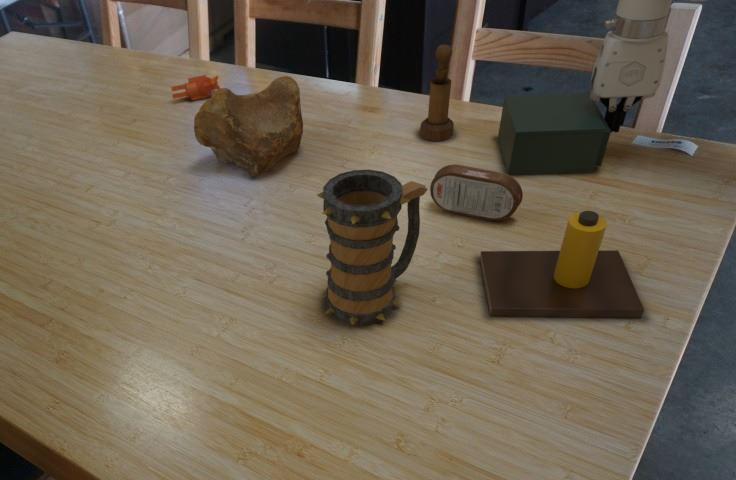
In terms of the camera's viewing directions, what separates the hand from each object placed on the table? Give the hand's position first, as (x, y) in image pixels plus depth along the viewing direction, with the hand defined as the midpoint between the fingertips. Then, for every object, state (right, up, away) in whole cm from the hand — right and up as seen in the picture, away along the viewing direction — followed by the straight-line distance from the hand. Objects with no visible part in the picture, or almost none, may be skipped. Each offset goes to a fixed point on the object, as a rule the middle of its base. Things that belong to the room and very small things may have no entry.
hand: (611, 129), depth 123 cm
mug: (-48, -32, -19) cm, 61 cm away
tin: (-28, -17, -6) cm, 33 cm away
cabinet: (-10, -3, +5) cm, 12 cm away
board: (-21, -31, -22) cm, 43 cm away
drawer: (-8, -3, +4) cm, 9 cm away
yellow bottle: (-20, -30, -24) cm, 43 cm away
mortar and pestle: (-27, +4, +16) cm, 32 cm away
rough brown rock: (-64, -2, +17) cm, 66 cm away
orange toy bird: (-78, +22, +45) cm, 93 cm away
